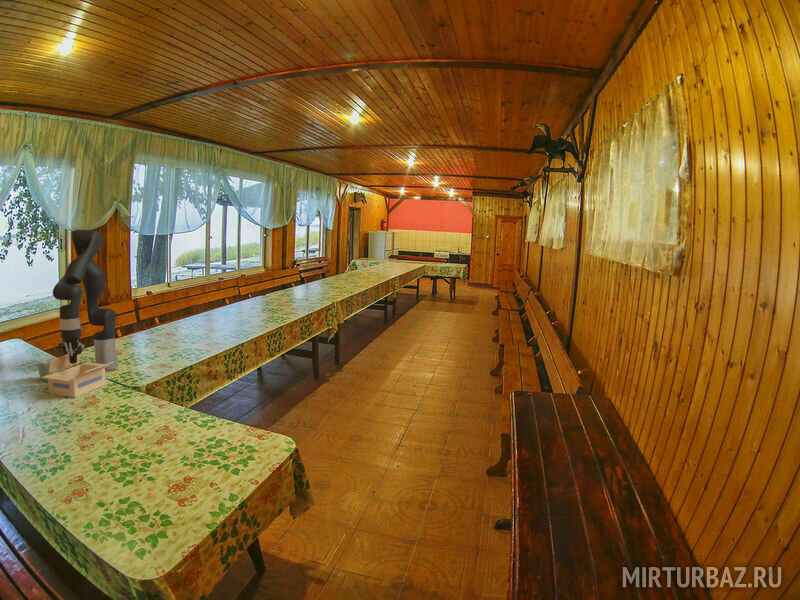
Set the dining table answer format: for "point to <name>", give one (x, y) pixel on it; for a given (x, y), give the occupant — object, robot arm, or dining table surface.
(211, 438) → the dining table surface
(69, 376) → the carton
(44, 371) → the cup
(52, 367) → the flap
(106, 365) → the flap
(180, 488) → the dining table surface
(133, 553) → the dining table surface
